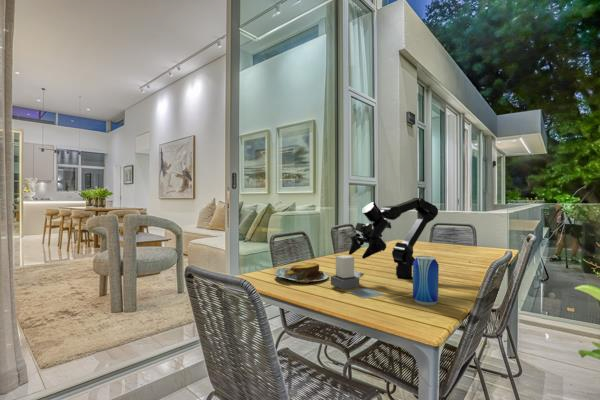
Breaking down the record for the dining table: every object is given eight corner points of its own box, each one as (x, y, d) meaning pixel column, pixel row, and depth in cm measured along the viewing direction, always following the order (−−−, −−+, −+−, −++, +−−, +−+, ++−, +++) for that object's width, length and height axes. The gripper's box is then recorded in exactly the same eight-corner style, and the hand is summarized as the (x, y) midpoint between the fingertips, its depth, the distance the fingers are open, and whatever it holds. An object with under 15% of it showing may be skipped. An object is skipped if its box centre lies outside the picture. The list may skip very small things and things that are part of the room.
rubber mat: (367, 288, 128) (367, 287, 128) (384, 295, 119) (384, 294, 119) (347, 292, 123) (347, 290, 123) (363, 299, 114) (363, 298, 114)
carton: (352, 281, 138) (352, 269, 137) (364, 286, 130) (364, 273, 130) (325, 286, 131) (325, 273, 131) (336, 291, 124) (336, 277, 124)
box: (346, 283, 134) (346, 255, 134) (354, 286, 129) (354, 257, 129) (335, 284, 132) (335, 256, 132) (343, 288, 127) (343, 258, 127)
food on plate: (285, 270, 160) (285, 257, 160) (333, 274, 152) (333, 260, 152) (264, 283, 136) (264, 268, 136) (320, 288, 128) (320, 272, 128)
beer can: (436, 308, 106) (436, 260, 106) (410, 303, 110) (410, 258, 110) (439, 301, 113) (440, 256, 113) (415, 297, 118) (415, 254, 117)
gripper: (353, 215, 144) (332, 240, 139) (381, 217, 127) (358, 246, 122) (366, 231, 147) (347, 257, 142) (395, 236, 131) (374, 265, 126)
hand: (355, 256), depth 133 cm, fingers open, 9 cm apart
